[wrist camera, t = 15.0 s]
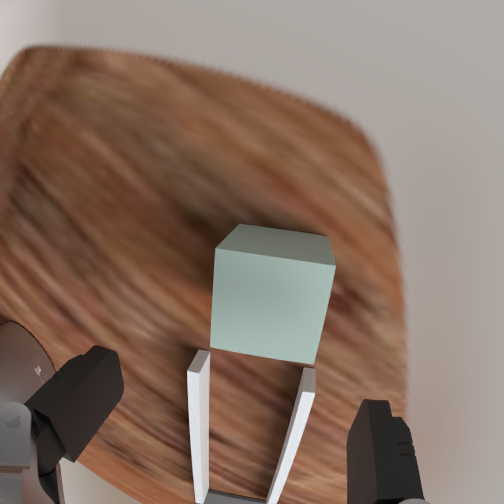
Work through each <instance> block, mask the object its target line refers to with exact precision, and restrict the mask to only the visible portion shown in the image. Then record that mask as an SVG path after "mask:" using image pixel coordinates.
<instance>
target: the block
mask: <svg viewBox="0 0 504 504" xmlns="http://www.w3.org/2000/svg"><path fill="white" fill-rule="evenodd" d="M335 268H336V265H335V261H334V257H333V253H332V249H331V245H330V241H329V237H328V236H323V235H317V234H310V233H303V232H296V231H289V230H282V229H275V228H268V227H260V226H253V225H245V224H239V225H238V226H237V227H236V228H235V229H234V230H233V231H232V232H231V233H230V234H229V235H228V236H227V237H226V238H225V239H224V240H223V241H222V242H221V243H220V244H219V245H218V246H217V247H216V248H215V263H214V280H213V298H212V318H211V341H210V347H213V348H218V349H223V350H228V351H233V352H238V353H244V354H249V355H255V356H261V357H267V358H273V359H279V360H286V361H293V362H300V363H307V364H314V360H315V357H316V353H317V349H318V345H319V341H320V336H321V332H322V328H323V324H324V319H325V315H326V311H327V306H328V302H329V297H330V292H331V288H332V283H333V278H334V273H335Z"/></svg>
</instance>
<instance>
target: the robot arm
mask: <svg viewBox="0 0 504 504" xmlns="http://www.w3.org/2000/svg"><path fill="white" fill-rule="evenodd" d="M123 391H124V382H123V377H122V373H121V368H120V362H119V357H118V354H117V352H116V351H114V350H111V349H108V348H105V347H102V346H99V345H95V346H93V347H92V348H91V349H90V350H89V351H88V352H87V353H86V354H84V355H82V354H81V355H79V356H77V357H74V358H72V359H70V360H68V361H67V362H66V363H65V364H64V365H63V366H62V367H61V368H60V369H59V371H57V372H56V373H55V370H54V368H53V366H52V364H51V362H50V360H49V358H48V356H47V355H46V353H45V352H44V350H43V349H42V347H41V346H40V345H39V343H38V342H37V341H36V340H35V339H34V338H33V336H32V335H31V334H30V333H28V332H27V331H26V330H25V329H24V328H23V327H21V326H20V325H18V324H16V323H14V322H6V323H4V324H3V325H1V326H0V504H65V500H64V493H63V486H62V478H61V468H60V464H59V461H60V459H61V458H62V457H64V458H66V459H68V460H69V461H71V462H73V463H74V462H75V461H76V459H77V458H78V457H79V455H80V454H81V452H82V451H83V450H84V448H85V447H86V446H87V444H88V443H89V442H90V440H91V439H92V437H93V436H94V435H95V433H96V432H97V431H98V429H99V428H100V426H101V425H102V424H103V422H104V421H105V420H106V418H107V417H108V416H109V414H110V413H111V412H112V410H113V409H114V408H115V406H116V405H117V403H118V402H119V401H120V399H121V397H122V395H123ZM412 443H413V441H412V437H411V433H410V429H409V427H408V426H407V425H406V423H405V422H404V421H403V419H402V418H401V417H392V414H391V409H390V404H389V402H388V401H387V400H369V399H364V400H363V402H362V403H361V406H360V408H359V410H358V413H357V415H356V417H355V420H354V422H353V424H352V426H351V428H350V431H349V434H348V439H347V504H430V503H429V502H427V501H425V499H424V496H423V492H422V486H421V480H420V475H419V470H418V465H417V460H416V456H415V450H414V446H413V445H412Z"/></svg>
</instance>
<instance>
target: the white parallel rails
mask: <svg viewBox="0 0 504 504" xmlns="http://www.w3.org/2000/svg"><path fill="white" fill-rule="evenodd" d="M209 377H210V351H205V350H200V349H199V350H198V352H197V354H196V356H195V357H194V359H193V361H192V363H191V365H190V366H189V368H188V370H187V382H188V407H189V425H190V441H191V455H192V468H193V479H194V489H195V499H196V503H200V504H203V503H204V501H205V498H206V495H207V492H208V489H209ZM315 380H316V369H314V368H306V367H304V368H303V373H302V377H301V381H300V385H299V389H298V393H297V397H296V401H295V404H294V408H293V412H292V416H291V419H290V423H289V427H288V430H287V434H286V437H285V441H284V444H283V448H282V451H281V454H280V458H279V461H278V464H277V468H276V471H275V474H274V477H273V480H272V484H271V487H270V490H269V493H268V496H267V499H266V504H277V501H278V499H279V496H280V494H281V491H282V489H283V486H284V484H285V481H286V479H287V476H288V473H289V471H290V468H291V465H292V462H293V460H294V457H295V454H296V451H297V448H298V446H299V443H300V440H301V437H302V434H303V431H304V428H305V425H306V422H307V419H308V416H309V412H310V409H311V406H312V403H313V399H314V396H315Z"/></svg>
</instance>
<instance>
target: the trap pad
mask: <svg viewBox="0 0 504 504" xmlns="http://www.w3.org/2000/svg"><path fill="white" fill-rule="evenodd" d="M277 503H278V501H277ZM198 504H200V503H198ZM203 504H266V500H263V499H256V498H250V497H244V496H239V495H233V494H228V493H224V492H219V491H214V490H210V489H208V492H207V495H206V498H205V501H204V503H203Z"/></svg>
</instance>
